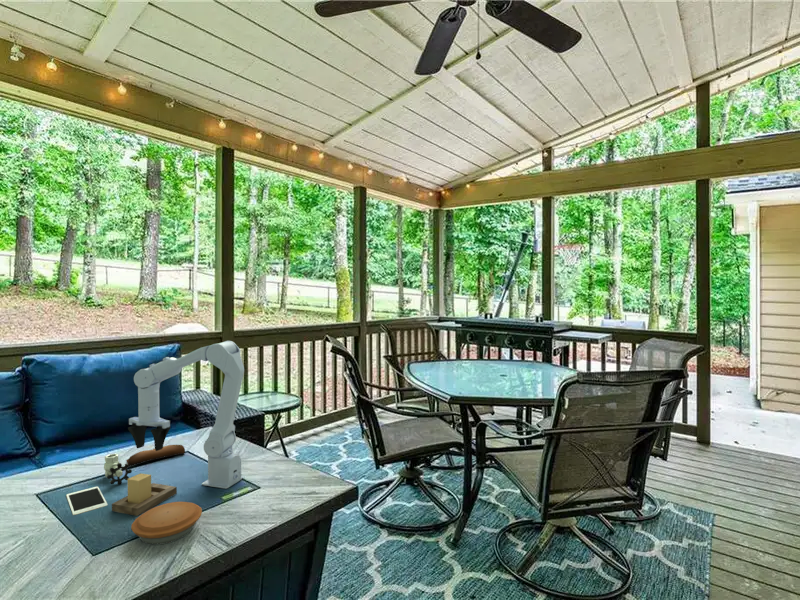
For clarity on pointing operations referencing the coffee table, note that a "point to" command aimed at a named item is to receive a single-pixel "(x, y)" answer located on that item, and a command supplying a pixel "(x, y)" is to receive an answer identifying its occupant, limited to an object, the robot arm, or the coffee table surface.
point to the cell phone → (86, 500)
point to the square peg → (139, 488)
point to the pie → (166, 522)
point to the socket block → (157, 496)
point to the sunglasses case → (155, 454)
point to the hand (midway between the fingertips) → (149, 448)
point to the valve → (115, 469)
